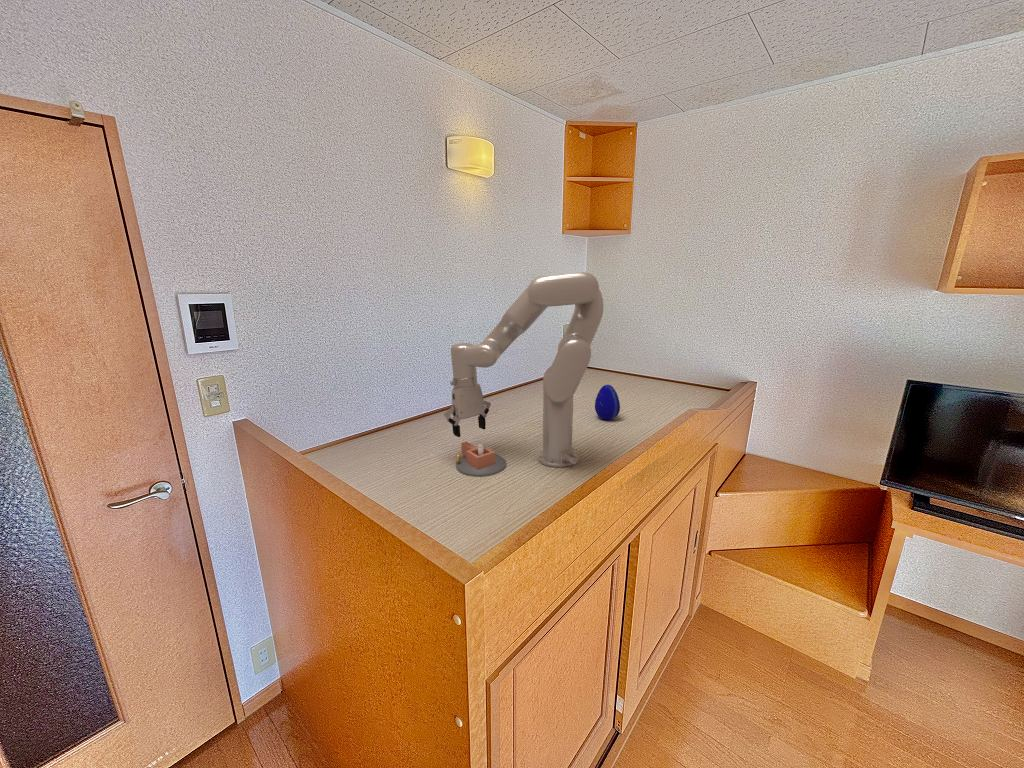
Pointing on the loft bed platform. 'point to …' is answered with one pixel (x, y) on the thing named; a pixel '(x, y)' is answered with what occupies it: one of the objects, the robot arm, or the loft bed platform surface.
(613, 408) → the ornament
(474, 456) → the orange square loop
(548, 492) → the loft bed platform surface
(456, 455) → the dowel pin
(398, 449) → the loft bed platform surface
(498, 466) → the post base
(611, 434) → the loft bed platform surface
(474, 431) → the loft bed platform surface
